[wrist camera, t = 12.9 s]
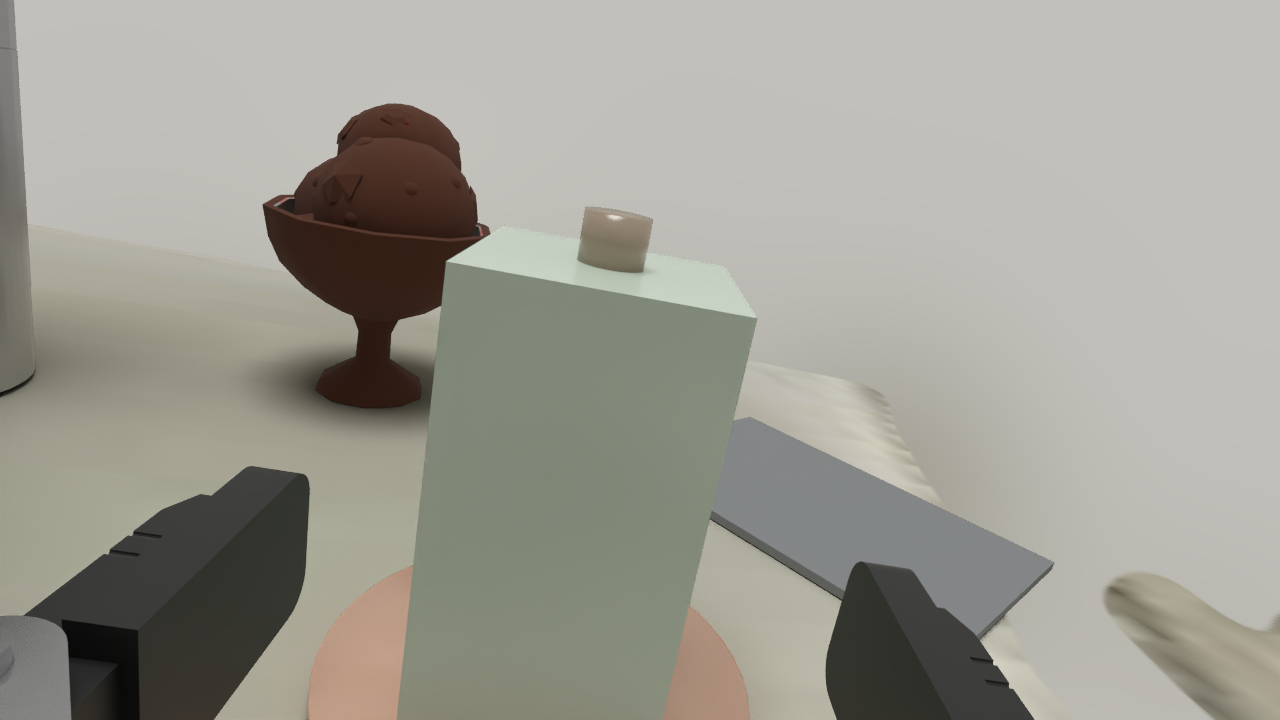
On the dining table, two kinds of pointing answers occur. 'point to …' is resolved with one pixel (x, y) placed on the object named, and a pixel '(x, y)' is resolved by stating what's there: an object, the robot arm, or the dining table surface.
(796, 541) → the mat
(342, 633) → the saucer
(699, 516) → the tall green carton
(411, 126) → the ice cream bowl
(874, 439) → the dining table surface
